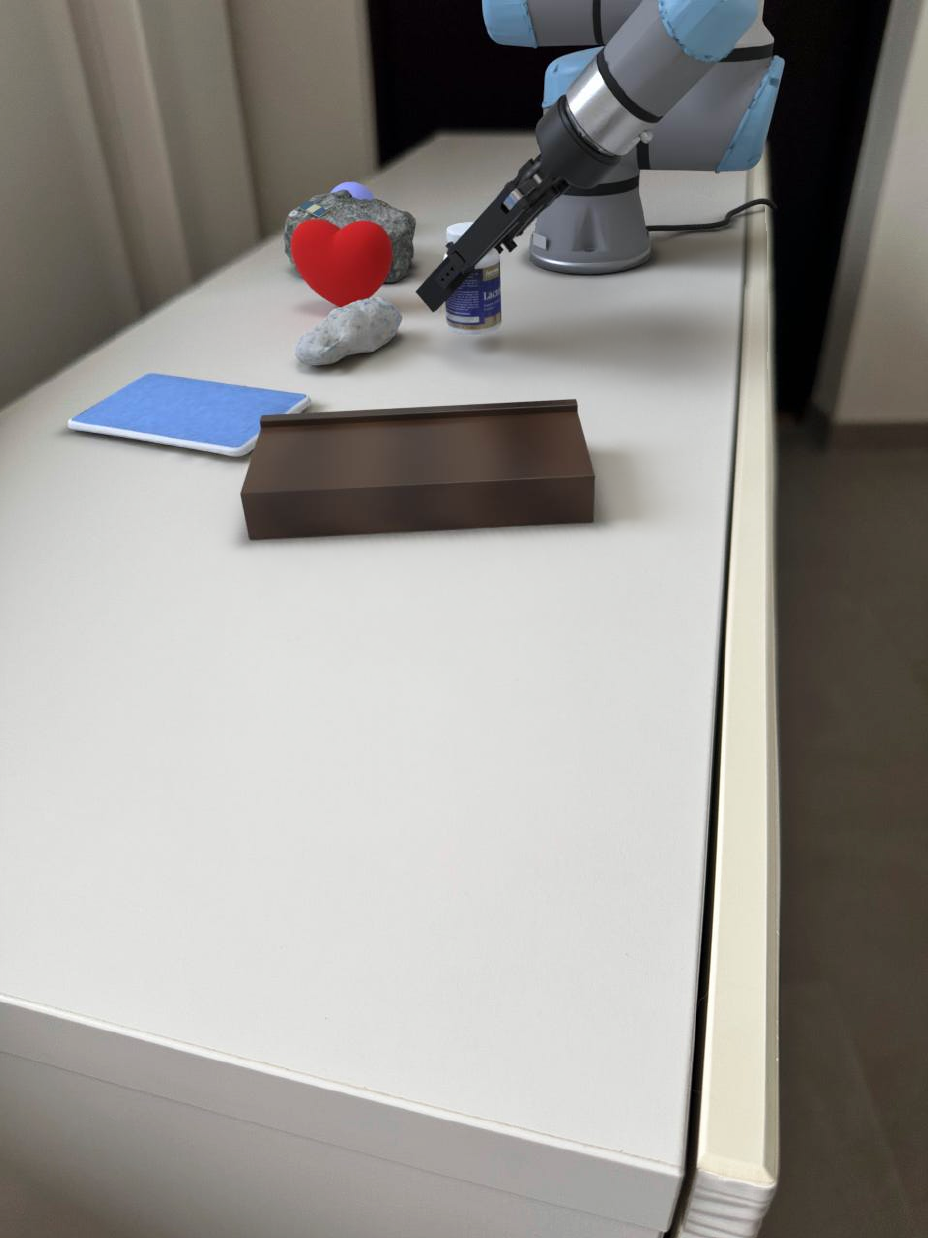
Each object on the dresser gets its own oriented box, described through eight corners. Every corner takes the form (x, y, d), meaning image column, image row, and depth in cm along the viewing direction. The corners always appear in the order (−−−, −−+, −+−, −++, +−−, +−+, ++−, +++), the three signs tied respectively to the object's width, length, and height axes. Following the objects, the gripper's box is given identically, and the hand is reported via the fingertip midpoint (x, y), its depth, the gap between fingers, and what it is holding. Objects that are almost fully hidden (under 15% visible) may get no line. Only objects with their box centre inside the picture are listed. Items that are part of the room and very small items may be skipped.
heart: (291, 316, 116) (278, 225, 110) (309, 300, 120) (297, 212, 114) (388, 321, 113) (380, 228, 108) (403, 304, 118) (396, 214, 112)
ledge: (575, 449, 86) (576, 398, 84) (593, 522, 76) (595, 467, 74) (269, 464, 86) (261, 414, 84) (249, 540, 77) (238, 486, 74)
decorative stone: (363, 326, 112) (358, 280, 109) (413, 336, 109) (410, 289, 106) (286, 369, 103) (278, 320, 100) (338, 381, 100) (332, 330, 97)
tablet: (65, 433, 93) (61, 419, 93) (150, 380, 103) (147, 368, 102) (241, 465, 87) (239, 451, 86) (316, 405, 96) (314, 392, 95)
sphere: (383, 227, 144) (378, 175, 140) (374, 242, 139) (369, 188, 135) (334, 228, 145) (328, 176, 141) (324, 243, 139) (318, 189, 135)
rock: (443, 243, 131) (426, 170, 124) (404, 311, 124) (383, 238, 116) (324, 240, 138) (300, 171, 130) (279, 305, 130) (251, 235, 122)
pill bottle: (496, 337, 102) (493, 236, 96) (441, 336, 104) (434, 236, 98) (506, 317, 107) (503, 219, 101) (453, 315, 108) (447, 218, 102)
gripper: (581, 186, 82) (420, 352, 99) (657, 135, 95) (504, 289, 112) (520, 111, 81) (368, 291, 98) (606, 70, 94) (459, 235, 111)
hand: (441, 290), depth 105 cm, fingers closed on pill bottle, 6 cm apart
